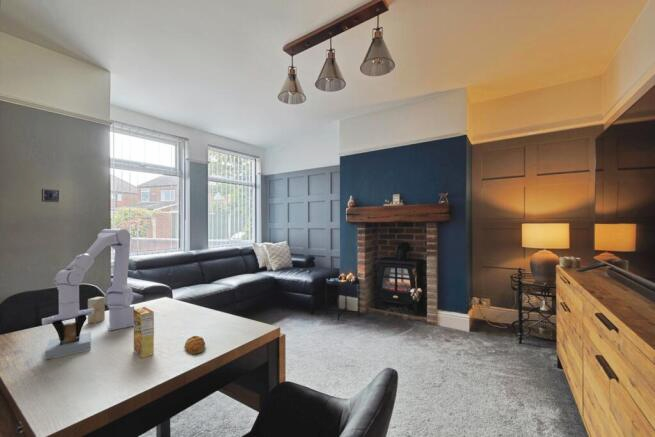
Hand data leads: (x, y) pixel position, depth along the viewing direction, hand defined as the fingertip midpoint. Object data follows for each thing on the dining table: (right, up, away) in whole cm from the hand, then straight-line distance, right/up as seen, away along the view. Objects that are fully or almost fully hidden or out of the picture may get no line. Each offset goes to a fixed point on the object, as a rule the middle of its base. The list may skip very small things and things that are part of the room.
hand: (69, 338), depth 109 cm
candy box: (+30, -4, -4) cm, 31 cm away
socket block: (0, -4, 0) cm, 4 cm away
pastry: (+48, -4, -1) cm, 48 cm away
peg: (0, -3, 0) cm, 3 cm away
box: (-14, -4, +30) cm, 33 cm away
